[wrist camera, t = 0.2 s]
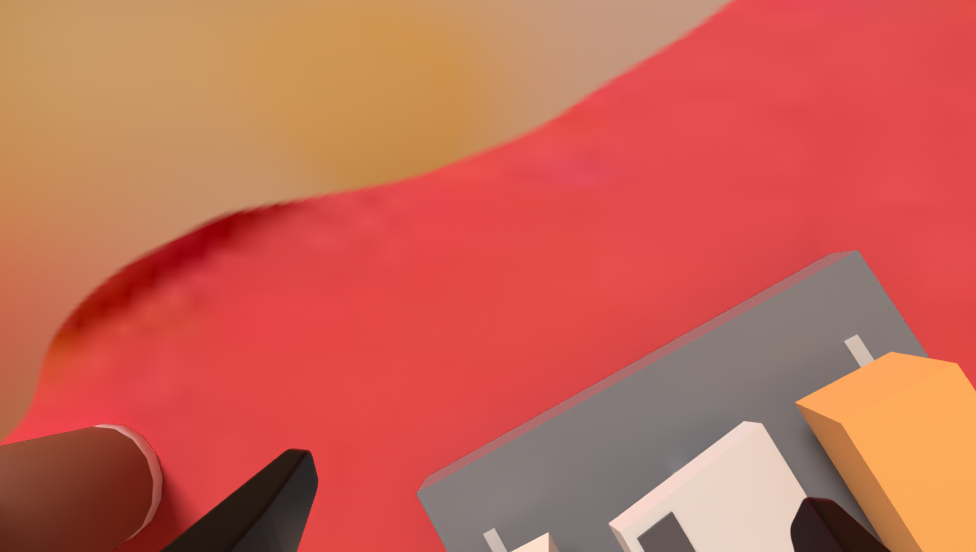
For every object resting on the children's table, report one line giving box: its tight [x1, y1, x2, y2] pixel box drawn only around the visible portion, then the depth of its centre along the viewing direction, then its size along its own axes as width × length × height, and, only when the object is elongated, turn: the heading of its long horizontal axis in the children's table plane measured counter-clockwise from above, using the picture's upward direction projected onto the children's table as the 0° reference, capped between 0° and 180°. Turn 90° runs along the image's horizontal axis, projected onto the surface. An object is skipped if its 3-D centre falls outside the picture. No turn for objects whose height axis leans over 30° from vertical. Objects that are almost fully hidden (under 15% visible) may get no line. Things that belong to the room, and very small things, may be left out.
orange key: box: [795, 352, 976, 552], centre depth 17 cm, size 11×4×3 cm, turn 30°
